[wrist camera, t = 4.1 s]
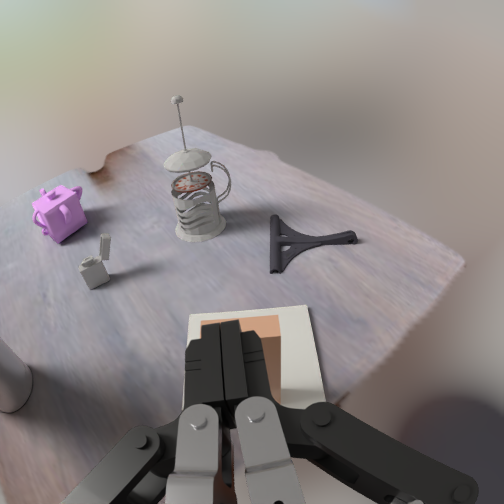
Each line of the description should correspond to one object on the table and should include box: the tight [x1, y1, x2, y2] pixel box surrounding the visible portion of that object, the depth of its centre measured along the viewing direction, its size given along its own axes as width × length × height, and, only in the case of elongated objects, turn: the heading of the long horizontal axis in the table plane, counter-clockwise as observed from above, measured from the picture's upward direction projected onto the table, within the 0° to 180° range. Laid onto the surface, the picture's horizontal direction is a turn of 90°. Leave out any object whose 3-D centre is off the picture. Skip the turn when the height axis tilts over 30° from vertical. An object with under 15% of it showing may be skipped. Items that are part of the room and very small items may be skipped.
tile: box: [200, 315, 281, 405], centre depth 28 cm, size 6×2×14 cm, turn 93°
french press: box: [164, 95, 231, 242], centre depth 51 cm, size 10×12×25 cm
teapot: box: [32, 185, 88, 243], centre depth 60 cm, size 18×14×10 cm
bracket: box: [270, 215, 358, 274], centre depth 52 cm, size 14×15×3 cm
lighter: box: [79, 233, 111, 290], centre depth 47 cm, size 7×2×8 cm, turn 126°
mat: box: [182, 305, 326, 411], centre depth 36 cm, size 16×16×1 cm
